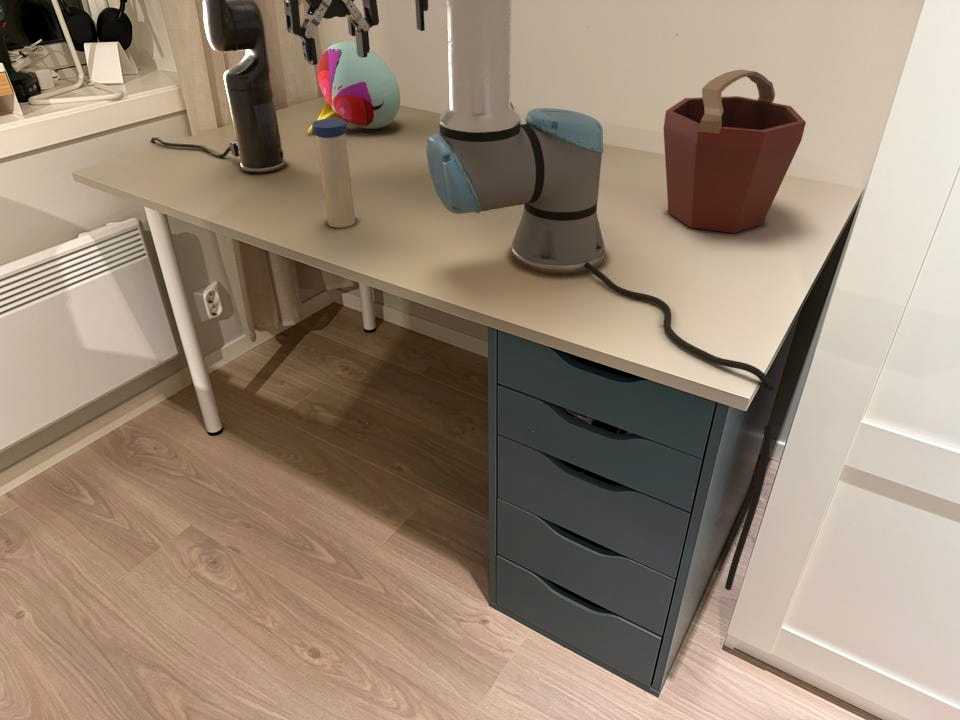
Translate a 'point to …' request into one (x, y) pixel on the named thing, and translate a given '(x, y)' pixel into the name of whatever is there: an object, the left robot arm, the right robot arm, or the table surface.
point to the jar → (336, 180)
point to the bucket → (728, 154)
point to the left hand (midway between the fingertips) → (337, 60)
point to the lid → (329, 127)
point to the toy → (357, 87)
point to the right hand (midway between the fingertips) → (387, 32)
